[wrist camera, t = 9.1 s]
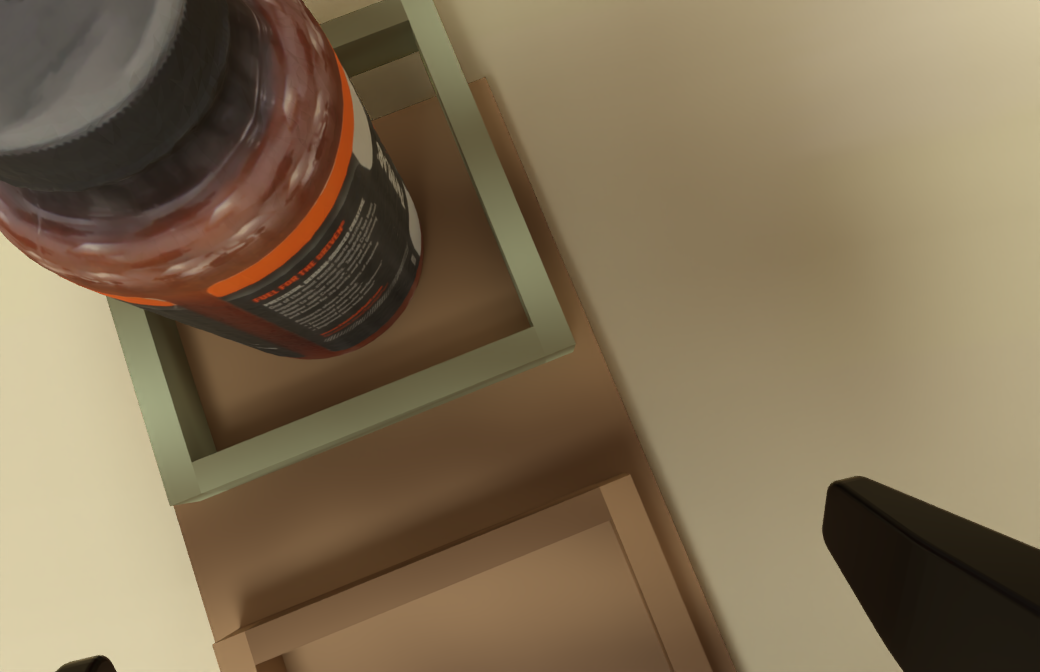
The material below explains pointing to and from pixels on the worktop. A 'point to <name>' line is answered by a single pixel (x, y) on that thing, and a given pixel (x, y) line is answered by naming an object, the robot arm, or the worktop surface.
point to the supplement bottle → (204, 169)
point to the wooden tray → (426, 442)
